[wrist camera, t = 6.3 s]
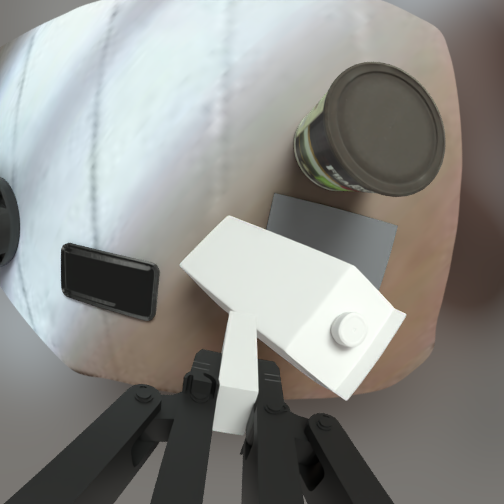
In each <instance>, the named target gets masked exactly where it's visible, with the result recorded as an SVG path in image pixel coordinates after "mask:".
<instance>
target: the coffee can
mask: <svg viewBox="0 0 504 504" xmlns="http://www.w3.org/2000/svg"><path fill="white" fill-rule="evenodd" d="M294 152H295V157H296V160H297V162H298V165H299V167H300V168H301V170H302V172H303V173H304V174H305V175H306V176H307V177H308V178H309V179H310V180H311V181H312V182H314V183H315V184H316V185H318V186H320V187H322V188H325V189H327V190H332V191H355V192H368V193H378V194H381V195H386V196H392V197H401V196H408V195H412V194H415V193H417V192H419V191H421V190H423V189H424V188H425V187H427V186H428V185H429V184H430V183H431V182H432V180H433V179H434V178H435V177H436V175H437V174H438V172H439V170H440V167H441V165H442V162H443V158H444V153H445V131H444V126H443V121H442V118H441V115H440V113H439V110H438V108H437V106H436V104H435V102H434V100H433V99H432V97H431V96H430V94H429V93H428V92H427V91H426V89H425V88H424V87H423V86H422V85H421V84H420V83H419V82H418V81H417V80H416V79H415V78H414V77H412V76H411V75H409V74H408V73H407V72H405V71H403V70H401V69H399V68H397V67H395V66H392V65H390V64H386V63H380V62H364V63H360V64H357V65H354V66H352V67H350V68H348V69H346V70H345V71H344V72H342V73H341V74H340V75H339V76H338V77H337V78H336V79H335V80H334V82H333V83H332V85H331V87H330V88H329V90H328V92H327V93H326V94H325V95H324V96H323V97H322V99H321V100H320V101H319V102H318V104H317V105H316V106H315V107H314V108H313V109H312V110H311V112H310V113H309V114H308V115H307V116H306V117H305V118H304V119H303V120H302V121H301V123H300V124H299V126H298V128H297V130H296V133H295V137H294Z"/></svg>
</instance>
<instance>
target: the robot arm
mask: <svg viewBox="0 0 504 504" xmlns="http://www.w3.org/2000/svg"><path fill="white" fill-rule="evenodd" d="M19 230H20V223H19V212H18V206H17V202H16V199H15V196H14V193H13V191H12V189H11V187H10V185H9V184H8V183H7V182H6V181H5V180H4V179H3V178H1V177H0V267H1V266H3V265H6V264H7V263H9V262H10V261H11V259H12V258H13V256H14V254H15V252H16V249H17V246H18V241H19ZM212 430H213V431H219V432H225V433H231V434H238V435H244V434H245V431H246V438H245V441H244V444H243V447H242V449H241V453H240V454H241V455H242V454H243V473H242V504H304V499H303V495H304V497H305V499H306V502H307V503H308V504H394V503H393V501H392V500H391V498H390V497H389V496H388V494H387V493H386V491H385V490H384V488H383V487H382V485H381V484H380V483H379V481H378V480H377V478H376V477H375V475H374V474H373V472H372V471H371V469H370V468H369V466H368V465H367V464H366V462H365V461H364V459H363V458H362V456H361V455H360V453H359V452H358V450H357V449H356V447H355V446H354V444H353V443H352V441H351V440H350V438H349V437H348V435H347V434H346V432H345V431H344V429H343V428H342V426H341V425H340V423H339V422H338V421H337V420H336V418H334V417H332V416H331V415H328V414H324V413H317V414H314V415H312V416H311V417H310V418H309V419H307V418H304V417H301V416H298V415H296V414H294V413H292V412H290V409H289V407H288V405H286V403H285V402H284V399H283V392H282V385H281V378H280V371H279V368H278V366H277V365H276V364H275V362H273V361H266V360H260V359H257V330H256V316H254V315H249V314H244V313H239V312H234V311H230V313H229V318H228V322H227V327H226V332H225V337H224V342H223V347H222V352H221V353H218V352H213V351H209V350H204V349H202V350H200V351H199V352H198V353H197V354H196V356H195V359H194V362H193V365H192V369H191V371H190V372H188V373H187V374H186V375H185V376H184V381H183V390H182V392H180V393H178V394H174V395H161V394H160V393H159V391H158V390H157V389H155V388H154V387H152V386H149V385H145V384H138V385H134V386H132V387H130V388H129V389H128V390H127V391H126V392H125V393H123V394H122V395H121V396H120V397H119V398H118V399H117V400H116V401H115V402H114V403H113V404H112V405H111V406H110V407H109V408H108V409H107V410H106V411H105V412H103V413H102V414H101V415H100V416H99V417H98V418H97V419H96V420H95V421H94V422H93V423H92V424H91V425H90V426H89V427H87V428H86V429H85V430H84V431H83V432H82V433H81V434H80V435H79V436H78V437H77V438H76V439H75V440H74V441H73V442H71V443H70V444H69V445H68V446H67V447H66V448H65V449H64V450H63V451H62V452H60V453H59V454H58V455H57V456H56V457H55V458H54V459H53V460H52V461H51V462H50V463H49V464H47V465H46V466H45V467H44V468H43V469H42V470H41V471H40V472H39V473H38V474H37V475H35V476H34V477H33V478H32V479H31V480H30V481H29V482H28V483H27V484H25V485H24V486H23V487H22V488H21V489H20V490H19V491H18V492H16V493H15V494H14V495H13V496H12V497H11V498H10V499H9V500H8V501H6V502H5V503H4V504H113V503H114V502H115V501H116V500H117V498H118V497H119V496H120V494H121V493H122V492H123V490H124V489H125V488H126V486H127V485H128V484H129V483H130V481H131V480H132V479H133V477H134V476H135V475H136V473H137V472H138V471H139V469H140V468H141V467H142V465H143V464H144V463H145V461H146V460H147V459H148V457H149V456H150V455H151V453H152V452H153V451H154V449H155V448H156V447H157V445H158V443H159V442H160V441H161V442H165V441H166V442H167V446H166V449H165V452H164V456H163V459H162V463H161V467H160V470H159V474H158V478H157V481H156V484H155V488H154V492H153V496H152V499H151V503H150V504H202V502H203V494H204V487H205V480H206V472H207V465H208V457H209V449H210V443H211V436H212Z"/></svg>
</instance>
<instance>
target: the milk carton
mask: <svg viewBox="0 0 504 504" xmlns="http://www.w3.org/2000/svg"><path fill="white" fill-rule="evenodd" d="M180 267H181V268H182V269H183V270H184V271H185V272H186V273H187V274H188V275H189V276H190V277H191V278H192V279H193V280H194V281H195V282H196V283H197V284H198V285H199V286H200V287H201V288H202V289H203V290H204V291H205V293H206V294H207V295H208V296H209V297H210V298H212V299H213V300H214V301H215V302H216V303H217V304H218V305H219V306H220V307H221V308H222V309H223V310H225V311H226V312H227V313H228V314H229V313H230V311H234V312H239V313H244V314H249V315H254V316H256V330H257V338H259V339H260V340H261V341H262V342H264V343H265V344H266V345H267V346H269V347H270V348H271V349H272V350H274V351H275V352H276V353H278V354H279V355H280V356H281V357H283V358H284V359H285V360H287V361H288V362H289V363H291V364H292V365H293V366H294V367H296V368H297V369H298V370H300V371H301V372H302V373H304V374H305V375H306V376H308V377H309V378H310V379H312V380H313V381H315V382H316V383H318V384H320V385H321V386H323V387H325V388H327V389H329V390H331V391H332V392H334V393H336V394H337V395H339V396H340V397H341V398H343V399H344V400H348V399H349V397H350V396H351V395H352V394H353V392H354V391H355V390H356V389H357V387H358V386H359V385H360V384H361V382H362V381H363V380H364V378H365V377H366V376H367V374H368V373H369V371H370V370H371V369H372V367H373V366H374V365H375V363H376V362H377V360H378V359H379V357H380V356H381V355H382V353H383V352H384V350H385V349H386V347H387V346H388V344H389V343H390V341H391V340H392V338H393V336H394V335H395V333H396V332H397V330H398V329H399V327H400V325H401V324H402V322H403V320H404V319H405V317H406V314H405V313H403V312H401V311H399V310H397V309H395V308H394V307H393V306H392V305H391V304H390V303H389V302H388V301H387V300H386V299H385V298H384V296H383V295H382V294H381V293H380V292H379V291H378V290H377V289H376V288H375V287H374V286H373V285H372V284H371V282H370V281H369V280H368V279H367V278H366V277H365V276H364V275H363V274H362V273H361V272H360V271H359V270H358V269H357V268H356V267H355V266H354V265H351V264H349V263H347V262H344V261H342V260H340V259H337V258H335V257H332V256H330V255H328V254H325V253H323V252H320V251H318V250H315V249H313V248H310V247H308V246H306V245H303V244H301V243H298V242H296V241H293V240H291V239H288V238H286V237H283V236H281V235H278V234H276V233H273V232H271V231H268V230H266V229H263V228H260V227H258V226H255V225H253V224H250V223H248V222H245V221H242V220H240V219H237V218H235V217H232V216H227V217H226V218H225V219H224V220H223V221H222V222H220V223H219V224H218V225H217V226H216V227H215V228H214V229H213V230H212V231H211V232H210V233H209V234H208V235H207V236H206V237H205V238H204V239H203V240H202V241H201V242H200V243H199V245H198V246H197V247H196V248H195V249H194V250H193V251H192V252H191V253H190V254H189V255H188V256H187V257H186V258H185V259H184V260H183V261H182V262H181V263H180Z"/></svg>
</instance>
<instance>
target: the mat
mask: <svg viewBox="0 0 504 504" xmlns="http://www.w3.org/2000/svg"><path fill="white" fill-rule="evenodd" d="M397 227H398V226H396V225H393V224H390V223H387V222H383V221H380V220H376V219H373V218H369V217H366V216H362V215H359V214H355V213H352V212H348V211H344V210H341V209H337V208H333V207H329V206H325V205H322V204H318V203H314V202H310V201H306V200H302V199H297V198H293V197H289V196H285V195H280V194H276V193H274V197H273V201H272V206H271V210H270V214H269V219H268V223H267V228H266V230H268V231H271V232H273V233H276V234H278V235H281V236H283V237H286V238H288V239H291V240H293V241H296V242H298V243H301V244H303V245H306V246H308V247H310V248H313V249H315V250H318V251H320V252H323V253H325V254H328V255H330V256H332V257H335V258H337V259H340V260H342V261H344V262H347V263H349V264H351V265H354V266H355V267H356V268H357V269H358V270H359V271H360V272H361V273H362V274H363V275H364V276H365V277H366V278H367V279H368V280H369V281H370V282H371V284H372V285H373V286H374V287H375V288H376V289H377V290H378V291H379V288H380V285H381V282H382V279H383V276H384V273H385V269H386V266H387V263H388V260H389V256H390V253H391V249H392V246H393V242H394V238H395V234H396V231H397Z"/></svg>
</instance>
